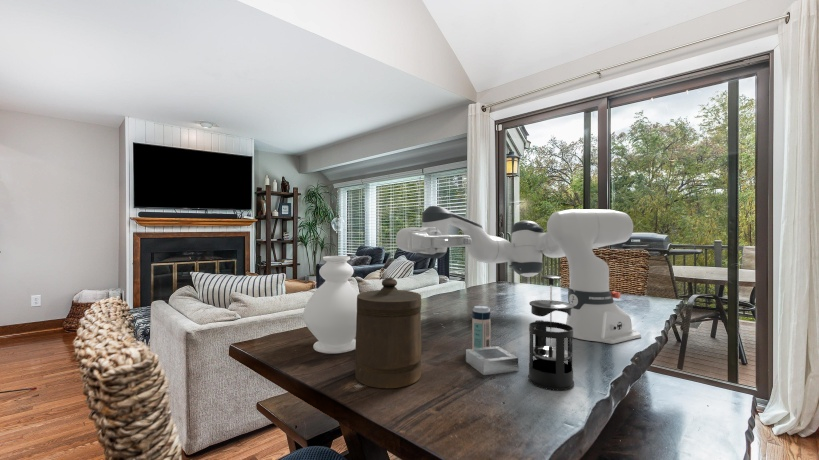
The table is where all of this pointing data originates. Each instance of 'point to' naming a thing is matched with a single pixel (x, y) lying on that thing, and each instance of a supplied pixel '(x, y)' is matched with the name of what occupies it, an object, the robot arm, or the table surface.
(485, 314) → the supplement bottle
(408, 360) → the wooden container
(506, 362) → the light grey square box
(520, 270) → the robot arm
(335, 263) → the decorative vase
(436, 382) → the table surface
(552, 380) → the french press
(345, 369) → the table surface
